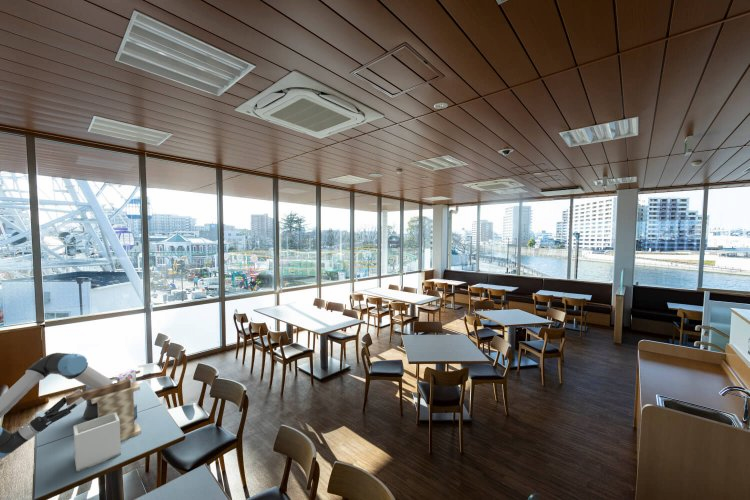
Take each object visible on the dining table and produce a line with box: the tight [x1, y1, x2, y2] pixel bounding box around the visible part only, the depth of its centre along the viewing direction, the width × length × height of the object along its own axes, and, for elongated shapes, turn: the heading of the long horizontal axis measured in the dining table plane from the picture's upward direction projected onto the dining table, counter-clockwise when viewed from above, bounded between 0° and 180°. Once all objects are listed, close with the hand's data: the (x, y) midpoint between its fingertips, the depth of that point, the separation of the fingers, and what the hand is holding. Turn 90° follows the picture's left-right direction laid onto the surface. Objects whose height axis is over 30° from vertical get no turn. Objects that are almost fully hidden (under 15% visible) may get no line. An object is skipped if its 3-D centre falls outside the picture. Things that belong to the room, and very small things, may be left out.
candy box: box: [112, 369, 137, 383], centre depth 239 cm, size 14×6×16 cm, turn 168°
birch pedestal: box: [91, 381, 142, 442], centre depth 186 cm, size 22×10×30 cm, turn 138°
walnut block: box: [65, 379, 131, 407], centre depth 181 cm, size 28×4×4 cm, turn 138°
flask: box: [134, 403, 138, 422], centre depth 205 cm, size 9×3×11 cm, turn 8°
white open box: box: [72, 412, 122, 473], centre depth 170 cm, size 18×12×20 cm, turn 138°
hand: (81, 394), depth 175 cm, fingers open, 13 cm apart
